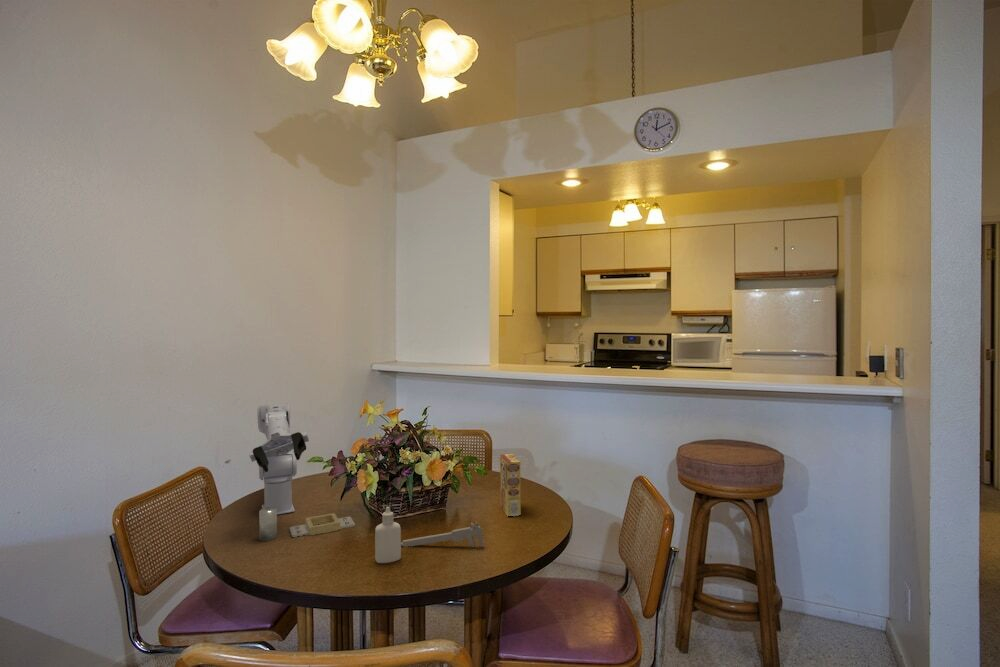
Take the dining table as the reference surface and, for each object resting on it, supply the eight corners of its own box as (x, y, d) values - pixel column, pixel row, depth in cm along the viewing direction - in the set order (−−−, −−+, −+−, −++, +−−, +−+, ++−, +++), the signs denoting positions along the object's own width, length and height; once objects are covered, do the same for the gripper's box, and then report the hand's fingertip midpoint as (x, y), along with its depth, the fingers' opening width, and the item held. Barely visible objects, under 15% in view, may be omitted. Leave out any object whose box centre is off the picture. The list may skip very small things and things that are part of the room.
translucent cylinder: (259, 536, 131) (258, 508, 131) (276, 533, 133) (276, 506, 133) (260, 542, 127) (259, 514, 127) (277, 539, 129) (277, 511, 129)
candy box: (521, 516, 144) (521, 461, 144) (506, 517, 143) (506, 462, 143) (513, 505, 153) (513, 453, 152) (499, 506, 152) (499, 454, 151)
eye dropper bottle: (379, 554, 121) (379, 503, 120) (403, 556, 120) (402, 504, 119) (372, 563, 116) (372, 510, 116) (396, 565, 115) (396, 511, 115)
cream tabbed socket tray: (289, 528, 136) (289, 520, 136) (349, 517, 143) (349, 510, 143) (292, 538, 129) (292, 531, 129) (355, 527, 136) (355, 519, 136)
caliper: (482, 547, 125) (482, 521, 125) (482, 549, 124) (482, 523, 124) (398, 545, 126) (398, 520, 126) (397, 547, 125) (397, 521, 125)
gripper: (245, 434, 137) (244, 460, 126) (301, 414, 142) (305, 438, 130) (254, 456, 140) (255, 483, 129) (309, 436, 145) (314, 461, 133)
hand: (281, 462), depth 130 cm, fingers open, 7 cm apart
